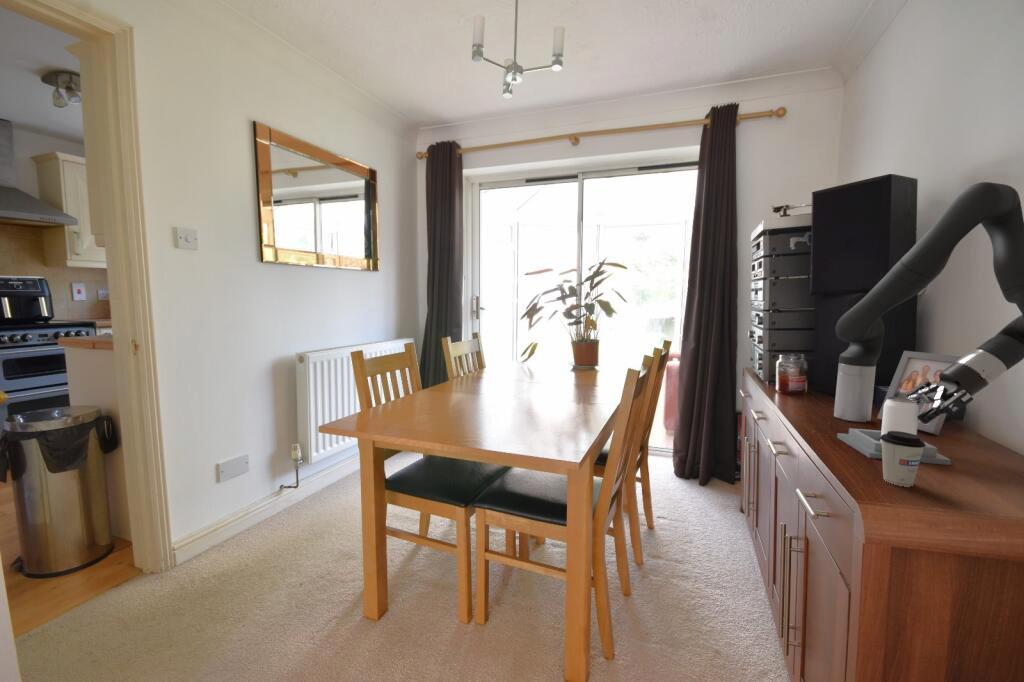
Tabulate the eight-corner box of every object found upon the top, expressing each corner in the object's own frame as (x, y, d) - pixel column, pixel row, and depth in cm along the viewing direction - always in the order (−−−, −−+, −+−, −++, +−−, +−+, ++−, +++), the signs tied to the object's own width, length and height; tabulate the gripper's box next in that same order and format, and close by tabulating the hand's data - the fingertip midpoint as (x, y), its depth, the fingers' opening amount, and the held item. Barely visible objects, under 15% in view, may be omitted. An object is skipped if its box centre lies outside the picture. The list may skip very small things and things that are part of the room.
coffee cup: (867, 475, 94) (871, 429, 93) (897, 475, 95) (902, 429, 94) (897, 489, 88) (903, 440, 87) (930, 489, 88) (936, 439, 87)
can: (922, 453, 105) (926, 403, 104) (891, 451, 107) (895, 401, 105) (903, 444, 112) (907, 397, 111) (874, 442, 113) (878, 396, 112)
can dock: (837, 437, 121) (838, 425, 120) (906, 443, 117) (907, 431, 117) (869, 457, 105) (870, 444, 105) (950, 465, 102) (952, 451, 101)
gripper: (939, 357, 113) (881, 398, 117) (983, 365, 99) (916, 411, 103) (962, 379, 112) (903, 420, 116) (1009, 390, 98) (941, 436, 102)
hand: (909, 416), depth 109 cm, fingers open, 8 cm apart
